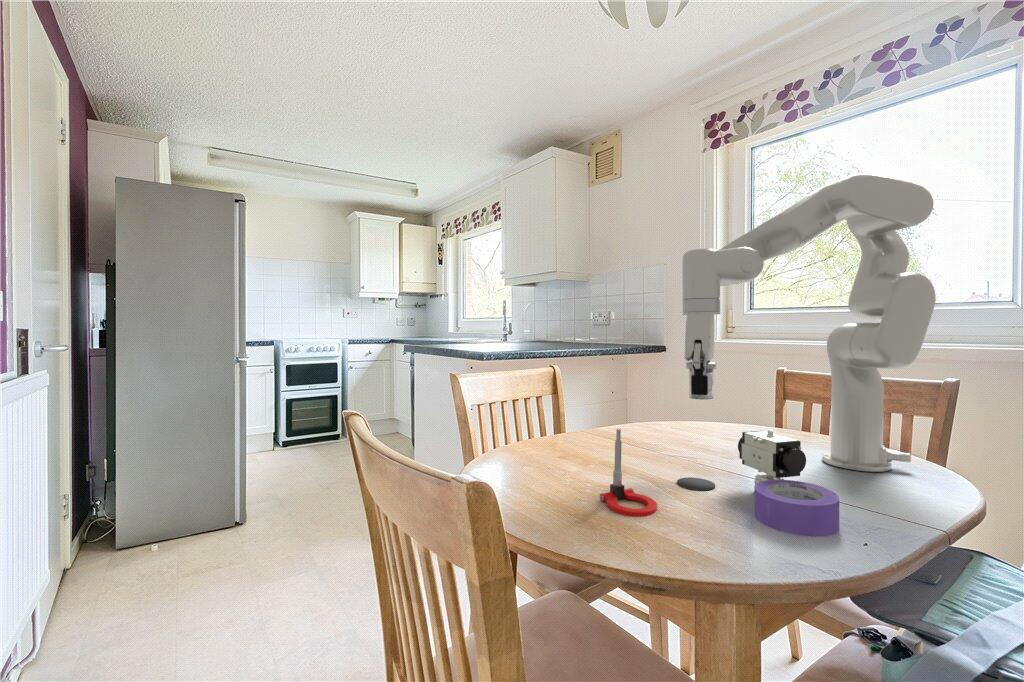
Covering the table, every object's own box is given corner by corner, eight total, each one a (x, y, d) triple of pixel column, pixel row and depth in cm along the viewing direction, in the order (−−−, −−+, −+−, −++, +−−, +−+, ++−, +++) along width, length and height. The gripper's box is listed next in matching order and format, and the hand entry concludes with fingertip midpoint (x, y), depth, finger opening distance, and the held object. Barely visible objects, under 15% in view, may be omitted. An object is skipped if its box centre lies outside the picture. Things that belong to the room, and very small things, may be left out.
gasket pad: (717, 482, 96) (717, 480, 96) (713, 492, 90) (713, 491, 90) (680, 477, 99) (680, 475, 99) (674, 487, 93) (674, 485, 93)
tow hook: (667, 514, 81) (633, 494, 90) (669, 439, 80) (634, 426, 89) (626, 522, 78) (594, 501, 86) (628, 444, 77) (596, 430, 85)
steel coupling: (717, 396, 104) (717, 361, 104) (714, 400, 99) (714, 363, 99) (688, 395, 107) (688, 361, 107) (684, 398, 102) (684, 363, 102)
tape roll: (796, 542, 70) (797, 508, 70) (737, 512, 81) (738, 483, 81) (858, 532, 73) (858, 499, 73) (793, 504, 84) (793, 476, 84)
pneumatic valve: (756, 483, 95) (757, 423, 95) (806, 505, 84) (807, 436, 83) (732, 486, 94) (733, 425, 93) (780, 508, 82) (781, 438, 82)
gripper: (689, 309, 112) (689, 387, 112) (675, 307, 97) (675, 397, 97) (724, 308, 108) (724, 389, 109) (715, 306, 93) (715, 399, 94)
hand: (701, 392), depth 103 cm, fingers closed on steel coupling, 4 cm apart
